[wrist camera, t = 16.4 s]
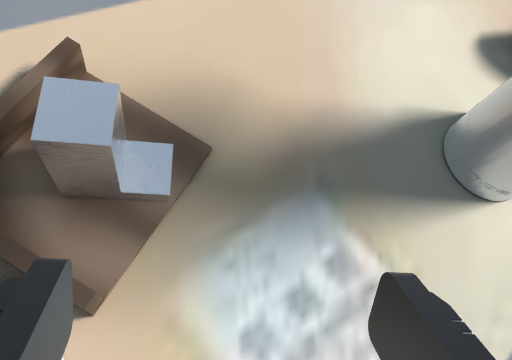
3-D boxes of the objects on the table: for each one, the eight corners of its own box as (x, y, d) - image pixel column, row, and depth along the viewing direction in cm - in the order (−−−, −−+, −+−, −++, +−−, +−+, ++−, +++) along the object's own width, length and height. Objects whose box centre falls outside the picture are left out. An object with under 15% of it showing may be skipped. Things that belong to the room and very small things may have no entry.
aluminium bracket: (62, 196, 33) (30, 139, 24) (71, 144, 34) (44, 76, 26) (169, 201, 34) (172, 150, 26) (172, 152, 36) (176, 90, 28)
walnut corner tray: (75, 68, 38) (67, 36, 34) (211, 150, 37) (217, 127, 34) (-73, 212, 31) (-103, 192, 27) (92, 316, 30) (84, 309, 27)
